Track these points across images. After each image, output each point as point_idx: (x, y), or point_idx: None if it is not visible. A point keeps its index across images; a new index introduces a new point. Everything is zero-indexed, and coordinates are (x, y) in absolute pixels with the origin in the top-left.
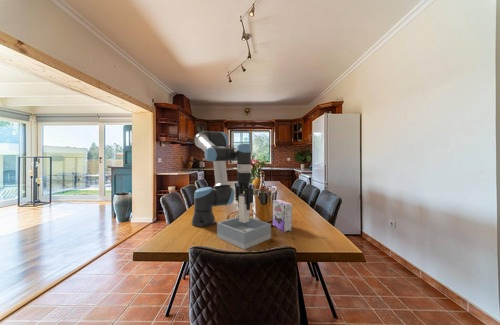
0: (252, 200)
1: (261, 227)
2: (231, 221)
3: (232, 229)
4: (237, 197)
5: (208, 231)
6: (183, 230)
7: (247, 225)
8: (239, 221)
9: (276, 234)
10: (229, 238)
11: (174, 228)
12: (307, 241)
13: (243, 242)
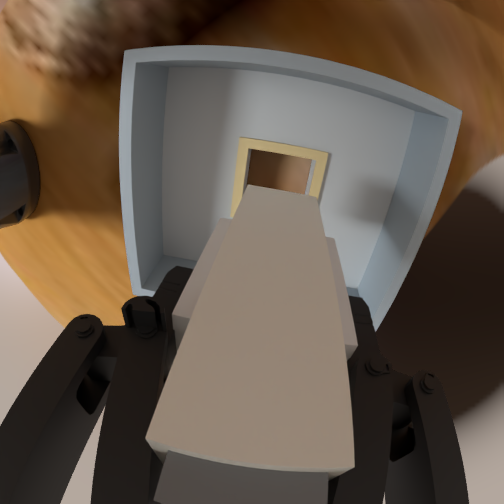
0: (439, 410)
1: (431, 214)
2: (139, 190)
3: None
4: (100, 398)
5: (87, 222)
6: (44, 267)
7: (210, 67)
8: (149, 105)
9: (411, 34)
10: None
11: (24, 269)
12: None
13: None
